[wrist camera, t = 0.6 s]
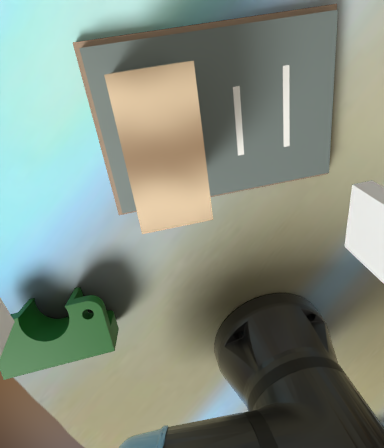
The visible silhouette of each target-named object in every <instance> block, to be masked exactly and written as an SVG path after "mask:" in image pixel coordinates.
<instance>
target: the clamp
mask: <svg viewBox="0 0 384 448" xmlns="http://www.w3.org/2000/svg"><path fill="white" fill-rule="evenodd" d="M65 308H66V309H67V311H68V314H69V316H68V317H66V318H62V319H53V318H49V317H47V316H45V315H43V314H42V313H41V312H40V311H39V310H38V308H37V306H36V303H35V298H33V299H29V300H28V302H27V303H26V304H25V305H24V306H23V307H22V309H21V310H20V311H19V312H18V313H15V314H11V316H12V318H13V320H14V324H13V327H12V329H11V332H10V334H9V337H8V339H7V342H6V344H5V347H4V349H3V352H2V354H1V357H0V371H1V374H2V376H3V379H4V380H5V379H8V378H12V377H16V376H20V375H24V374H28V373H32V372H35V371H39V370H43V369H47V368H51V367H55V366H58V365H62V364H66V363H70V362H74V361H78V360H81V359H85V358H89V357H93V356H97V355H101V354H104V353H108V352H112V351H115V346H116V340H117V335H118V325H117V322H116V318H115V315H114V312H113V311H112V310H106V308H105V305H104V302H103V301H102V300H101V299H100V298H99V297H97V296H94V295H88V296H84V297H83V294H82V291H81V288H80V287H78V288H75V289H74V291H73V293H72V294H71V296H70V298H69V300H68V301H67V303H66V305H65ZM87 309H90V310H92V311H93V313H88V310H87Z"/></svg>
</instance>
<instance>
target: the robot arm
mask: <svg viewBox="0 0 384 448" xmlns="http://www.w3.org/2000/svg"><path fill="white" fill-rule="evenodd" d="M344 247H346V248H347V249H348V250H349V251H350V252H351V253H352V254H353V255H354V256H355V257H356V258H357V259H358V260H359V261H360V262H361V263H362V264H363V265H365V266H366V267H367V268H368V269H369V270H370V271H371V272H372V273H373V274H374V275H375V276H376V277H377V278H378V279H379V280H380V281H381V282H382V283H384V187H383V186H381V185H379V184H377V183H376V182H374V181H372V180H371V181H367V182H362V183H357V184H352V191H351V199H350V207H349V214H348V222H347V230H346V238H345V246H344ZM13 324H14V320H13V318H12V316H11V315H10V313H9V311H8V310H7V308H6V306H5V305H4V303H3V302H2V300H1V298H0V357H1V354H2V352H3V349H4V347H5V344H6V342H7V339H8V337H9V334H10V332H11V329H12V327H13ZM214 351H215V356H216V359H217V362H218V365H219V368H220V371H221V373H222V374H223V376H224V377H225V379H226V380H227V381H228V383H229V384H230V385H231V387H232V388H233V389H234V391H235V392H236V393H237V394H238V396H239V397H240V398H241V400H242V401H243V402H244V404H245V405H246V406H247V409H248V411H249V412H244V413H237V414H232V415H227V416H222V417H217V418H212V419H207V420H202V421H197V422H192V423H187V424H182V425H176V426H171V427H168V426H163V427H162V428H161V429H159V430H155V431H151V432H147V433H143V434H139V435H135V436H132V437H130V438H128V439H127V440H125V441H124V442H123V443H122V444H121V446H120V447H119V448H384V427H383V425H382V424H381V423H380V421H379V420H378V418H377V417H376V416H375V414H374V413H373V412H372V410H371V409H370V407H369V406H368V405H367V403H366V402H365V400H364V399H363V398H362V396H361V395H360V393H359V392H358V391H357V389H356V388H355V386H354V385H353V384H352V382H351V381H350V379H349V378H348V377H347V375H346V374H345V373H344V371H343V370H342V368H341V367H340V365H339V364H338V362H337V358H336V355H335V352H334V348H333V345H332V342H331V338H330V335H329V332H328V328H327V325H326V323H325V321H324V319H323V318H322V316H321V315H320V314H319V312H318V311H317V310H316V308H315V307H314V306H313V305H312V304H311V303H310V302H309V301H307V300H306V299H304V298H302V297H300V296H297V295H293V294H285V293H278V294H270V295H265V296H261V297H258V298H256V299H253V300H251V301H249V302H247V303H245V304H243V305H242V306H240V307H239V308H237V309H236V310H235V311H234V312H232V313H231V314H230V315H229V316H228V317H227V318H226V320H225V321H224V322H223V324H222V325H221V327H220V328H219V330H218V332H217V335H216V338H215V343H214Z"/></svg>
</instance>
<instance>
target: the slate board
mask: <svg viewBox="0 0 384 448" xmlns="http://www.w3.org/2000/svg"><path fill="white" fill-rule="evenodd" d="M337 18H338V10H337V4H332V5H325V6H318V7H312V8H305V9H298V10H291V11H284V12H277V13H271V14H264V15H257V16H250V17H243V18H237V19H230V20H223V21H216V22H209V23H203V24H196V25H189V26H182V27H175V28H168V29H162V30H155V31H148V32H141V33H134V34H128V35H121V36H114V37H107V38H100V39H94V40H87V41H80V42H73V46H74V49H75V53H76V57H77V61H78V64H79V68H80V72H81V76H82V79H83V83H84V87H85V90H86V94H87V98H88V102H89V105H90V109H91V113H92V117H93V120H94V124H95V128H96V131H97V135H98V139H99V143H100V146H101V150H102V154H103V157H104V161H105V165H106V169H107V172H108V176H109V180H110V184H111V187H112V191H113V195H114V198H115V202H116V206H117V210H118V213H119V215H122V214H127V213H132V212H137V210H136V206H135V202H134V197H133V193H132V189H131V185H130V181H129V176H128V172H127V168H126V164H125V160H124V156H123V151H122V147H121V143H120V139H119V135H118V130H117V126H116V122H115V118H114V114H113V110H112V105H111V101H110V97H109V93H108V89H107V84H106V80H105V76H104V75H106V74H110V73H114V72H121V71H127V70H133V69H140V68H146V67H152V66H159V65H165V64H172V63H179V62H187V61H194V67H195V75H196V83H197V92H198V100H199V108H200V116H201V124H202V132H203V141H204V149H205V157H206V165H207V173H208V182H209V190H210V197H213V196H218V195H223V194H228V193H233V192H238V191H243V190H248V189H254V188H259V187H264V186H269V185H274V184H279V183H284V182H289V181H294V180H299V179H304V178H309V177H314V176H319V175H324V174H328V173H329V162H330V144H331V126H332V108H333V90H334V72H335V54H336V36H337Z"/></svg>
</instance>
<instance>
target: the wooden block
mask: <svg viewBox="0 0 384 448" xmlns="http://www.w3.org/2000/svg"><path fill="white" fill-rule="evenodd" d="M104 76H105V80H106V84H107V89H108V93H109V97H110V101H111V105H112V110H113V114H114V118H115V122H116V126H117V130H118V135H119V139H120V143H121V147H122V151H123V156H124V160H125V164H126V168H127V172H128V176H129V181H130V185H131V189H132V193H133V197H134V202H135V206H136V210H137V214H138V218H139V222H140V227H141V231H142V234H146V233H150V232H155V231H160V230H165V229H170V228H175V227H180V226H185V225H189V224H194V223H199V222H204V221H209V220H213V214H212V206H211V198H210V190H209V182H208V173H207V165H206V157H205V149H204V141H203V132H202V124H201V116H200V108H199V100H198V92H197V83H196V75H195V67H194V61H187V62H179V63H172V64H165V65H159V66H152V67H146V68H140V69H133V70H127V71H121V72H114V73H110V74H106V75H104Z"/></svg>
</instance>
